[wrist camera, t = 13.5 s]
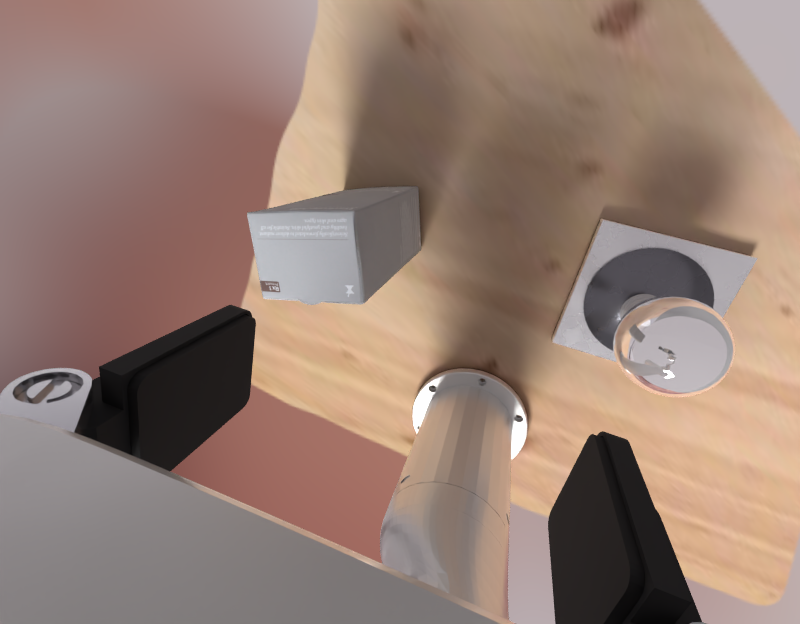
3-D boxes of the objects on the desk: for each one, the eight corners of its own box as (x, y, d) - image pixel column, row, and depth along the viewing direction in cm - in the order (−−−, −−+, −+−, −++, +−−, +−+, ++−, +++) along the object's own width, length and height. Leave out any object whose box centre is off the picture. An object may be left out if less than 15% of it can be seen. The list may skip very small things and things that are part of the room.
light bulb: (605, 263, 35) (643, 307, 24) (695, 274, 33) (780, 327, 22) (586, 336, 37) (613, 405, 27) (669, 349, 36) (734, 429, 25)
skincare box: (420, 185, 38) (360, 196, 24) (422, 259, 41) (369, 309, 26) (338, 188, 41) (239, 200, 26) (345, 258, 43) (257, 304, 29)
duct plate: (680, 377, 38) (685, 384, 36) (551, 338, 40) (552, 343, 39) (751, 255, 33) (759, 259, 32) (600, 218, 35) (603, 220, 34)
